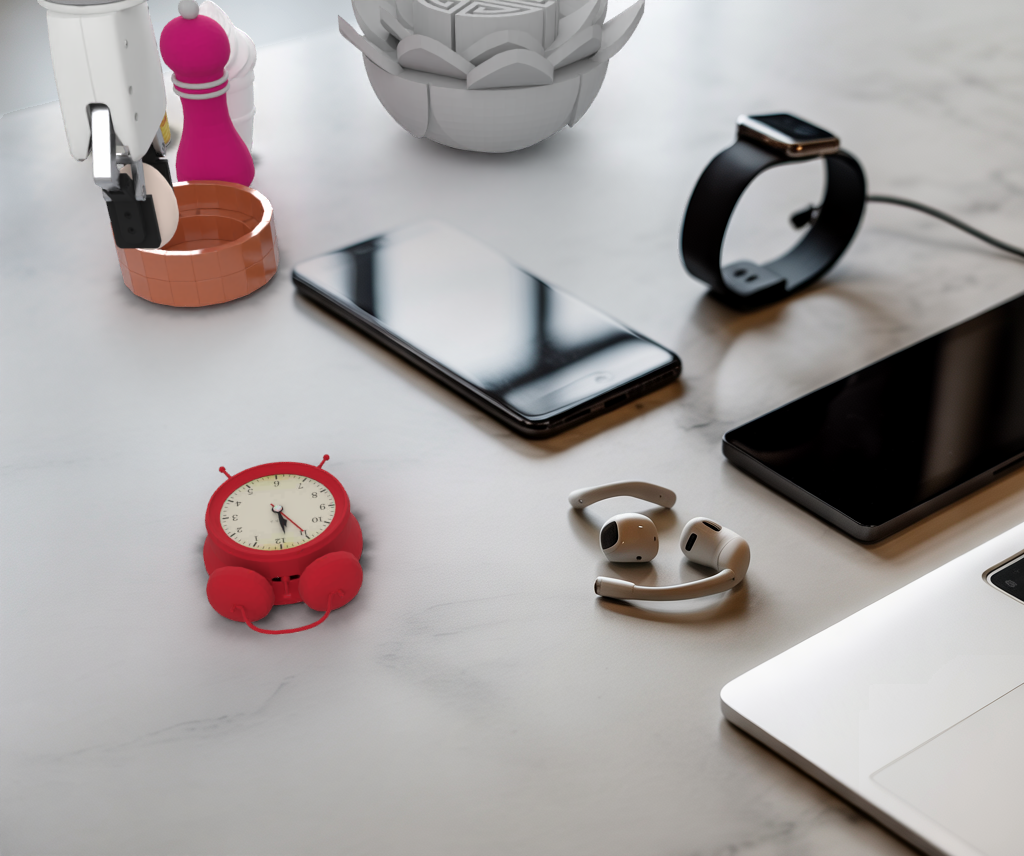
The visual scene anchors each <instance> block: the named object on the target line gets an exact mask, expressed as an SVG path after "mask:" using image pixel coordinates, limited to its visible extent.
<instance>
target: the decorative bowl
mask: <svg viewBox="0 0 1024 856" xmlns="http://www.w3.org/2000/svg"><path fill="white" fill-rule="evenodd" d="M350 2H351V7H352V11H353V15H354V17H355V20H356V22H357V25H358V27H359V29H360V30H361V33H362V34H363V35H362V34H360V33H359V32H358V31H357V30H356V29H355V28H354V27H353V26H352V25H351V24H350V23H349V22H348V21H347V20H345V19H344V18H343V17H342V16H341V15H339V14H337V22H338V23H337V24H338V32H339V34H340V35H341V36H342V37H343V39H345V40H346V41H348V42H349V43H350V44H351V45H353V46H354V47H355V48H357V50H359V51H360V52H361V55H362V60H363V65H364V70H365V72H366V75H367V78H368V81H369V84H370V86H371V88H372V90H373V92H374V94H375V96H376V97H377V99H378V101H379V102H380V104H381V106H382V107H383V109H385V111H386V112H387V114H388V115H390V117H391V118H392V119H393V120H394V121H395V122H396V123H397V124H398V125H399V126H400V127H402V128H403V130H405V131H406V132H408V133H409V134H410V135H412V136H413V137H415V138H418V139H422V138H427V139H428V140H431V141H432V142H435V143H438V144H439V145H443V146H446V147H449V148H452V149H456V150H463V151H468V152H479V153H494V154H498V153H499V154H500V153H511V152H515V151H519V150H523V149H526V148H529V147H532V146H534V145H536V144H538V143H540V142H541V141H544V140H546V139H548V138H550V137H552V136H553V135H555V134H556V133H558V132H559V131H561V130H562V129H563V128H565V127H566V126H569V127H570V128H572V127H574V126H575V125H576V124H577V123H578V122H579V121H580V120H581V119H582V118H583V116H584V115H585V114H586V113H587V111H589V109H590V107H591V106H592V104H593V103H594V101H595V100H596V99H597V97H598V94H599V93H600V90H601V89H602V85H603V83H604V81H605V78H606V76H607V72H608V68H609V64H610V59H611V58H613V57H614V56H615V55H617V54H618V53H619V52H620V51H621V50H622V49H623V47H624V46H625V45H626V44H627V43H628V42H629V41H630V39H631V37H632V36H633V34H634V33H635V31H636V30H637V28H638V25H639V24H640V22H641V20H642V18H643V15H644V13H645V5H646V0H637V1H636V2H635V3H633V4H632V5H630V6H629V7H627V8H626V9H625V10H623V11H621V12H619V13H618V14H617V15H615V16H614V17H612V18H611V19H609V20H607V21H606V22H605V20H606V17H607V13H608V3H609V0H350Z"/></svg>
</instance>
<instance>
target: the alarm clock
mask: <svg viewBox="0 0 1024 856" xmlns="http://www.w3.org/2000/svg"><path fill="white" fill-rule="evenodd" d="M330 459H331V456H330V455H329V454H327V453H326V454H323V456H322V460H321V462H320V463H319V464H318V465H317V466H316V465H314V464H309V463H307V462H306V463H305V462H298V461H273V462H266V463H262V464H258V465H254V466H251V467H248V468H246V469H244V470H241V471H239V472H237V473H236V474H233V475H230V473H228V471H227V469H226V467H225V466H224V465H223V466H219V467H218V472H219V473H220V474H223V475H225V477H226V478H227V479H225V481H223V482H222V483H221V484H220V485H219V486H218V487H216V489H215V490H214V492H213V494H211V496H210V498H209V501H208V503H207V505H206V510H205V514H204V515H205V516H204V526H205V529H206V533H207V535H206V537H205V540H204V544H203V547H202V549H203V550H202V557H203V558H202V559H203V562H204V567H205V571H206V573H207V575H208V580H207V582H206V589H205V594H206V597H207V600H208V603H209V604H210V607H211V608H212V609H213V610H214V611H215V612H216V613H217V614H218V615H220V616H221V617H224V618H226V619H228V620H231V621H234V622H238V623H245V624H246V625H247V627H248V628H250V629H251V630H252V631H254V632H256V633H258V634H265V635H271V636H272V635H276V636H277V635H278V636H279V635H288V634H294V633H299V632H303V631H304V632H305V631H307V630H310V629H314V628H316V627H318V626H319V625H321V624H323V623H324V622H325V621H326V620H327V619H328V618H329V616H330V614H331V612H332V611H334V610H338V609H340V608H342V607H344V606H345V605H347V604H348V603H350V602H351V601H353V599H355V598H356V596H357V595H358V594H359V591H360V590H361V587H362V586H363V581H364V572H363V567H362V565H361V563H360V559H361V556H362V553H363V549H364V548H363V547H364V541H363V539H364V538H363V532H362V528H361V525H360V523H359V521H358V519H357V517H356V516H355V515H354V514H353V513H352V511H351V500H350V497H349V494H348V492H347V491H346V489H345V487H344V485H343V484H342V483H341V481H340V480H339V479H338V478H337V477H336V476H335V475H333V474H332V473H331V472H329V471H328V470H326V469H323V466H324V464H325V463H326V462H327V461H329V460H330ZM302 602H303V603H304V604H305V605H306V606H307V607H309V609H311V610H313V611H316V612H324V614H323V616H321V617H320V618H319V619H318V620H317V621H314V622H312V623H310V624H306V625H303V626H299V627H295V628H286V629H285V628H284V629H276V630H275V629H264V628H260V627H258V626H255V624H253V623H254V622H258V621H260V620H262V619H264V618H266V617H267V616H268V615H269V613H271V610H272V609H273V607H274V606H282V605H293V604H297V603H302Z"/></svg>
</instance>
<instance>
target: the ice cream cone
mask: <svg viewBox="0 0 1024 856" xmlns="http://www.w3.org/2000/svg"><path fill="white" fill-rule="evenodd" d="M198 5H199V14H200V15H204V16H207V17H210V18H212V19H214V20H215V21H216V22H218V23H219V24H220V25H221V26H222V28H223V29H224V30H225V32H226V34H227V36H228V39H229V43H230V50H231V53H230V58H229V60H228V62H227V64H226V65H225V67H224V68H225V69H226V70H227V72H228V74H229V77H228V81H229V82H230V88H229V90H228V91H227V92H226V97H227V106H228V111H229V116H230V118H231V121H232V123H233V125H234V127H235V129H236V131H237V132H238V134H239V135H240V137H241V138H242V140H243V141H244V143H245V144H246V146H247V148H248V150H249V152H250V154H251V155H252V152H253V139H254V138H253V135H254V121H255V119H254V118H255V114H256V112H257V107H256V104H255V91H254V89H255V88H254V81H255V79H256V78H255V72H254V69H255V66H256V63H257V48H256V44H255V42H254V41H253V39H252V38H251V36H249V35H248V34H247V32H245V31H243V30H242V29H240V28H238V27H236V26H235V24H234V23H233V21H232V20H231V18H230V17H229V15H228V14H227V13H226V12H225V11H224V10H223V9H222V8H221V7H220V6H219V5H218V4H217V3H216V2H214V1H212V0H203V2H201V3H200V4H198Z"/></svg>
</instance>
